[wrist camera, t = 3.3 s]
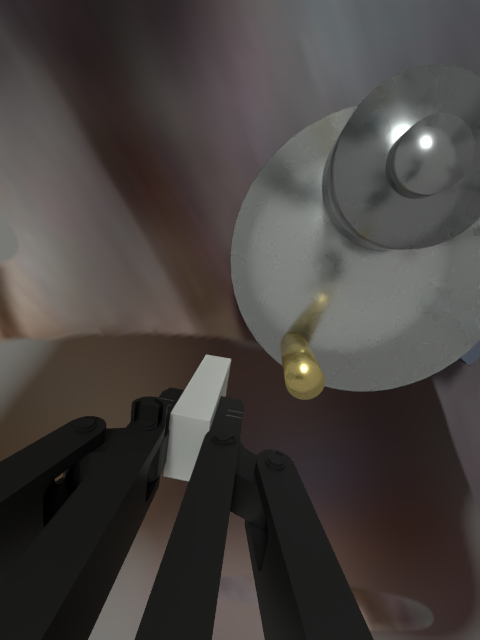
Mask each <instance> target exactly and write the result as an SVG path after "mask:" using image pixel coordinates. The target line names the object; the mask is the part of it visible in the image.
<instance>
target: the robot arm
mask: <svg viewBox="0 0 480 640" xmlns="http://www.w3.org/2000/svg"><path fill="white" fill-rule="evenodd" d="M230 363H231V359H228V358H223V357H217V356H211V355H206V356H205V358H204V359H203V361H202V362H201V364H200V366H199V367H198V369H197V371H196V372H195V374H194V376H193V377H192V379H191V380H190V382H189V384H188V385H187V387H186V389H185V390H180V389H175V388H169V389H167V390H165V391H163V392H162V394H161V395H160V396H159V398H158V397H142V398H139V399H136V400H135V401H133V402H132V411H131V422H130V423H129V425H128V426H127V427H126V428H113V429H106V423H105V421H104V420H103V419H101V418H99V417H95V416H86V417H81V418H77V419H75V420H73V421H71V422H69V423H67V424H65V425H64V426H62V427H60V428H58V429H57V430H55V431H53V432H52V433H50V434H48V435H46V436H44V437H43V438H41V439H39V440H38V441H36V442H34V443H32V444H31V445H29V446H27V447H25V448H24V449H22V450H20V451H18V452H17V453H15V454H13V455H12V456H10V457H8V458H6V459H5V460H3V461H1V462H0V640H88V638H89V636H90V634H91V632H92V629H93V627H94V625H95V623H96V621H97V619H98V617H99V614H100V612H101V610H102V608H103V606H104V603H105V602H106V599H107V597H108V595H109V593H110V591H111V589H112V586H113V584H114V582H115V580H116V577H117V575H118V573H119V571H120V569H121V567H122V565H123V563H124V560H125V558H126V556H127V554H128V552H129V550H130V547H131V545H132V543H133V541H134V539H135V537H136V534H137V532H138V530H139V528H140V526H141V524H142V521H143V519H144V517H145V515H146V512H147V511H148V508H149V506H150V504H151V502H152V500H153V498H154V495H155V493H156V491H157V489H158V487H159V482H160V481H159V480H160V474H161V472H162V470H163V468H164V475H163V476H165V477H170V478H175V479H180V480H185V481H189V483H188V486H187V489H186V492H185V495H184V498H183V501H182V504H181V506H180V509H179V512H178V515H177V518H176V521H175V524H174V527H173V530H172V533H171V535H170V538H169V541H168V545H167V547H166V550H165V553H164V556H163V559H162V562H161V564H160V567H159V570H158V573H157V576H156V579H155V582H154V585H153V588H152V591H151V594H150V596H149V599H148V602H147V605H146V608H145V611H144V614H143V617H142V620H141V623H140V626H139V628H138V631H137V634H136V638H135V640H212V634H213V626H214V619H215V612H216V605H217V598H218V591H219V584H220V577H221V570H222V563H223V556H224V549H225V542H226V535H227V528H228V521H229V514H230V511H231V512H233V513H234V514H236V515H238V516H240V517H242V518H244V519H245V529H246V534H247V540H248V545H249V551H250V558H251V563H252V569H253V575H254V580H255V586H256V592H257V597H258V603H259V609H260V614H261V620H262V626H263V632H264V637H265V640H373V637H372V635H371V633H370V631H369V629H368V626H367V624H366V622H365V620H364V617H363V615H362V613H361V611H360V609H359V606H358V604H357V602H356V600H355V598H354V595H353V593H352V591H351V589H350V587H349V584H348V582H347V580H346V578H345V575H344V573H343V571H342V569H341V567H340V564H339V562H338V560H337V558H336V556H335V553H334V551H333V549H332V547H331V544H330V542H329V540H328V538H327V536H326V533H325V531H324V529H323V527H322V525H321V522H320V520H319V518H318V516H317V514H316V512H315V509H314V507H313V505H312V502H311V500H310V498H309V496H308V494H307V492H306V489H305V487H304V485H303V483H302V481H301V478H300V476H299V474H298V472H297V469H296V467H295V465H294V463H293V461H292V460H291V459H290V457H288V456H287V455H286V454H284V453H282V452H279V451H277V450H264V451H262V452H260V453H259V454H258V455H255V454H253V453H251V452H250V451H248V450H247V449H245V448H244V447H243V445H242V444H241V442H240V433H241V426H242V419H243V412H244V404H243V403H242V401H241V400H239V399H234V398H229V397H225V395H226V389H227V382H228V376H229V369H230ZM62 473H64V474H63V477H62V478H61V479H59V480H57V481H55V478H57V477H58V476H59V475H61V474H62Z"/></svg>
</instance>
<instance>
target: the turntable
mask: <svg viewBox="0 0 480 640" xmlns="http://www.w3.org/2000/svg"><path fill="white" fill-rule="evenodd" d="M358 106H359V105H358ZM358 106H354V107H349V108H346V109H343V110H341V111H338V112H336V113H333V114H330V115H328V116H326V117H324V118H322V119H320V120H318V121H316V122H315V123H313V124H311V125H309V126H308V127H306V128H305V129H303V130H302V131H301V132H299V133H298V134H296V135H295V136H294V137H292V138H291V139H290V140H289V141H288V142H287V143H285V144H284V145H283V146H282V147H281V148H280V149H279V150H278V151H277V152H276V153H275V154H274V155H273V156H272V157H271V159H270V160H269V161H268V162H267V163H266V165H265V166H264V167H263V168H262V170H261V171H260V173H259V174H258V176H257V177H256V179H255V180H254V182H253V183H252V185H251V187H250V189H249V191H248V193H247V195H246V197H245V199H244V201H243V203H242V206H241V209H240V212H239V215H238V218H237V221H236V224H235V229H234V234H233V239H232V248H231V277H232V283H233V288H234V294H235V297H236V300H237V303H238V306H239V310H240V312H241V314H242V316H243V318H244V320H245V323H246V325H247V327H248V328H249V330H250V331H251V333H252V334H253V336H254V337H255V339H256V340H257V341H258V343H259V344H260V345H261V346H262V347H263V348H264V350H265V351H266V352H267V353H268V354H269V355H270V356H271V357H272V358H274V359H275V360H276V361H277V362H278V363H279V364H281V365H282V366H283V372H284V378H285V384H286V388H287V390H288V392H289V393H290V394H291V395H292V396H294V397H295V398H298V399H302V400H307V399H312V398H315V397H316V396H318V395H319V394H320V393H321V392H322V390H323V388H324V386H326V387H330V388H335V389H340V390H347V391H379V390H387V389H392V388H397V387H401V386H405V385H408V384H411V383H414V382H417V381H420V380H422V379H425V378H427V377H429V376H431V375H433V374H435V373H437V372H439V371H441V370H443V369H444V368H446V367H447V366H449V365H450V364H452V363H454V362H455V361H457V360H460V361H462V362H464V363H465V364H467V365H469V366H470V365H471V364H472V363H473V362H474V361H476V360H477V359H478V358H479V357H480V218H479V219H478V220H477V221H476V222H475V223H474V224H473V225H472V226H471V227H469V228H468V229H467V230H465V231H464V232H462V233H461V234H459V235H458V236H456V237H454V238H452V239H450V240H448V241H446V242H443V243H441V244H438V245H435V246H431V247H427V248H421V249H408V250H374V249H369V248H365V247H362V246H360V245H357V244H355V243H354V242H352V241H350V240H349V239H347V238H346V237H345V236H343V235H342V234H341V233H340V232H339V231H338V230H337V228H336V227H335V226H334V224H333V223H332V221H331V219H330V218H329V216H328V213H327V211H326V208H325V205H324V201H323V194H322V177H323V170H324V167H325V163H326V160H327V157H328V155H329V152H330V150H331V148H332V146H333V144H334V143H335V141H336V139H337V138H338V136H339V135H340V133H341V131H342V130H343V128H344V127H345V125H346V123H347V122H348V120H349V119H350V117H351V116H352V114H353V113H354V111H355V110H356V108H357V107H358Z"/></svg>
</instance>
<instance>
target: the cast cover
mask: <svg viewBox="0 0 480 640" xmlns="http://www.w3.org/2000/svg"><path fill="white" fill-rule="evenodd" d="M322 194H323V201H324V205H325V208H326V211H327V213H328V216H329V218H330V219H331V221H332V223H333V224H334V226H335V227H336V228H337V230H338V231H339V232H340V233H341V234H342V235H343V236H345V237H346V238H347V239H349V240H350V241H352V242H354V243H355V244H357V245H360V246H362V247H365V248H369V249H374V250H408V249H421V248H427V247H431V246H435V245H438V244H441V243H443V242H446V241H448V240H450V239H452V238H454V237H456V236H458V235H459V234H461V233H462V232H464V231H465V230H467V229H468V228H469V227H471V226H472V225H473V224H474V223H475V222H476V221H477V220H478V219H479V218H480V77H479V76H477V75H476V74H474V73H472V72H470V71H468V70H465V69H462V68H460V67H455V66H450V65H436V64H435V65H425V66H420V67H416V68H412V69H409V70H406V71H404V72H401V73H399V74H397V75H395V76H393V77H391V78H389V79H388V80H386V81H385V82H383V83H382V84H380V85H379V86H378V87H376V88H375V89H374V90H373V91H372V92H371V93H370V94H369V95H368V96H367V97H366V98H365V99H364V100H363V101H362V102H361V103H360V104H359V106H358V107H357V108H356V110H355V111H354V113H353V114H352V116H351V117H350V119H349V120H348V122H347V123H346V125H345V127H344V128H343V130H342V131H341V133H340V135H339V136H338V138H337V139H336V141H335V143H334V144H333V146H332V148H331V150H330V152H329V155H328V157H327V160H326V163H325V167H324V170H323V177H322Z"/></svg>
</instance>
